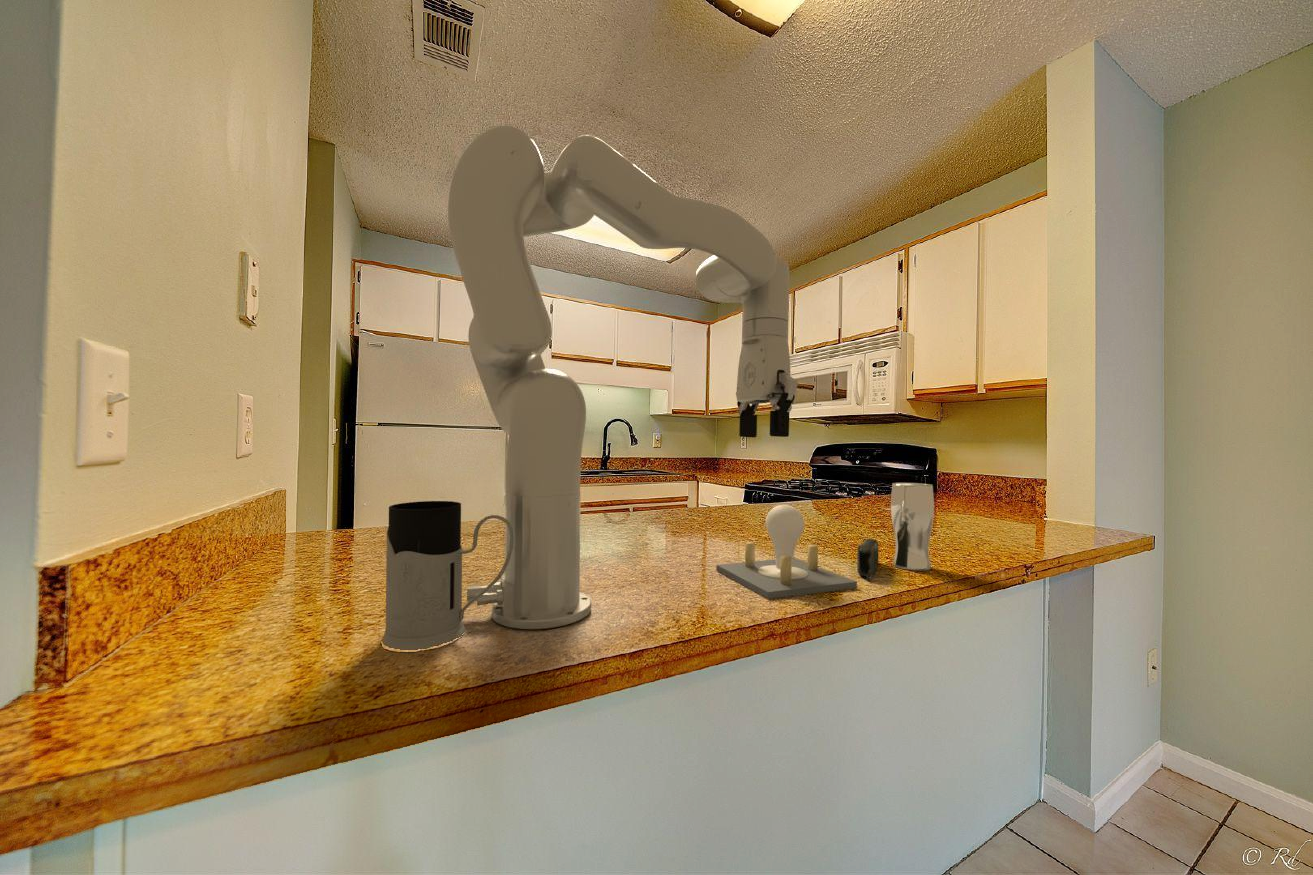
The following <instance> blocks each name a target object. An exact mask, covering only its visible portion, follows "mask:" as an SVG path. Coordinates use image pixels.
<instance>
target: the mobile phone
mask: <svg viewBox="0 0 1313 875" xmlns="http://www.w3.org/2000/svg"><path fill="white" fill-rule="evenodd" d="M856 564H857V573H858V575H860V576H863V577H866V580H867V581H868V582H871V581H872V576H873V574H874V573H875V572H876V571H877V570H878V566H879V542H878V541H877V540H876V539H873V538H864V539H863V542H862V543H860V544H859V545H858V546H857V563H856Z"/></svg>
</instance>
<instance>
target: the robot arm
mask: <svg viewBox="0 0 1313 875" xmlns="http://www.w3.org/2000/svg"><path fill="white" fill-rule="evenodd" d="M544 167H545V166H544V162H543V158H542V156H541V153H540V151H539V148H538V146H537V145H536V143H535V141H534V140H533V139H532V138H531V137H530V135H528V133H526V132H525V131H524V130H522V129H520V128H518V127H517V126H512V125H498V126H494V127H492V128H489V129H487V130H485V131H484V132H482V133H481V134H480V135H478V136H477V137H476V138H474V139H473V141H471V142H470V143H469V145H468V146H467V148H466V149H465V150H464V151H463V153H462V154H461V156H460V158H459V160H458V161H457V164H456V167H455V169H454V172H453V173H452V178H451V182H450V187H449V188H450V189H449V192H448V200H447V201H448V202H447V220H448V228H449V229H448V230H449V236H450V241H451V245H452V249H453V252H454V255H455V260H456V262H457V265H458V268H459V271H460V276H461V277H462V280H463V285H464V287H465V291H466V294H467V296H468V299H469V302H470V305H471V308H472V313H473V317H472V319H471V321H470V324H469V327H468V334H467V335H468V336H467V337H468V338H467V339H468V345H469V349H470V353H471V357H472V360H473V363H474V365H475V368H476V371H477V374H478V376H479V379H480V381H481V384H482V386H483V389H484V392H485V394H486V398H487V401H488V403H489V405H490V408H491V411H492V414H493V415H494V417H495V420H496V422H497V424H498V426H499V427H500V429H501V430H502V431H503V432H504V433H505V435H507V436H508V438H507V439H508V440H507V451H506V460H505V486H504V487H505V519H506V520H508V521H509V522H510V524H511V526H512V528H513V535H514V539H513V550H512V554H511V558H510V561H509V563H508V565H507V567H506V569H505V571H504V574H503V575H502V576H501V578H500V579H501V580H500V581H499V580H498V581H497V582H496V583H495V584H494V585H493V586H492V587H491V588H490V589H489V590H487V591H486V592H485V593H484V594H483V595H482V596H481V597H479V598H478V599H477V600H476V601H475V602H476V606H482V605H489V604H493V605H492V607H491V618H492V619H493V621H494V622H496V623H497V624H499V625H501V626H504V627H506V628H511V629H517V630H518V629H520V630H544V629H546V630H547V629H552V628H553V629H554V628H558V627H563V626H568V625H571V624H573V623H576V622H578V621H581V620H583V619H584V618H586V617H587V616H588V615H589V614H590V613H591V611H592V599H591V598H590V597H589V595H586V594H585V593H583V592H580V588H581V587H580V586H581V584H580V583H581V581H580V580H581V579H580V578H581V577H580V575H581V573H580V572H581V562H580V561H581V467H582V450H583V442H584V438H585V437H584V436H585V429H586V422H587V406H586V401H585V397H584V393H583V392H582V389H581V388H580V386H579V385H578V383H577V382H576V381H575V380H574V379H573V378H572V377H570V375H567V374H566V373H564V372H562V371H560V370H557V369H550V368H546V366H545V363H544V360H543V357H542V354H543V353H544V352H545V350H547V349H548V347H549V345H550V342H551V340H552V334H553V330H552V328H553V326H552V323H551V318H550V316H549V313H548V310H547V307H546V305H545V303H544V299H543V297H542V294H541V291H540V288H539V285H538V282H537V279H536V277H535V274H534V273H535V272H534V270H533V268H532V265H531V261H530V258H529V254H528V252H527V251H528V250H527V247H526V244H525V238H526V237H530V236H539V235H546V234H551V233H557V232H564V231H568V230H571V229H576V228H580V227H582V226H584V225H586V224H587V223H589V222H590V221H591V220H592V219H593V218H594V216H595V217H597V218H598V219H599V220H601V221H603V222H604V223H606V224H607V225H608V226H610V227H612V228H613V229H614V230H616V231H618V232H619V233H620V234H622V235H623V236H625V237H626V238H628V239H629V240H630V241H631V242H633V243H635V244H636V245H638V246H639V247H641V248H643V249H647V250H666V249H667V250H669V249H692V250H698V251H701V252H704V253H707V254H709V255H712V256H710V257H709V258H707V259H706V260H704V261H703V262H702V263H701V265H700V266H699V267H698V269H697V270H696V274H695V286H696V289H697V291H699V294H701V295H702V296H703V297H704V298H706V299H707V300H709V301H711V302H714V303H723V304H724V303H726V304H727V303H729V304H730V303H731V304H732V303H733V304H742V334H741V335H742V336H741V339H742V340H741V341H742V342H741V344H742V346H741V350H740V354H739V361H738V366H737V377H736V378H737V381H736V392H735V395H736V396H735V397H736V401H737V402H736V404H737V407H738V415H739V425H738V426H739V428H738V433H739V434H738V435H739V437H740V438H756V437H758V432H757V431H758V414H756V411H757V410H758V407H759V405H760V404H767V403H769V404H770V406H771V408H772V410H769V436H770V437H779V438H780V437H781V438H783V437H784V438H788V437H789V435H790V412H791V411H792V408H793V405H792V404H793V402H794V400H795V398H796V397H795V396H796V395H795V394H796V391H797V388H798V385H799V383H798V380H797V379H795V378H794V377H792V376H791V357H790V346H789V321H790V320H789V319H790V315H789V312H790V274H791V273H790V265H789V264H788V262H787V261H786V260H785V259H783V258H781V257H777V255H776V251H775V249H774V247H773V245H772V244H771V242H770V240H768V239H767V238H766V236H765V235H764V234H763V233H762V232H761V231H759V229H757V228H756V227H755V226H754V225H752V224H751V223H750V222H748V221H747V220H746V219H745V218H744V217H742V216H741V215H740V214H738V213H736V212H734V211H732V210H731V209H729V208H726V207H724V206H721V205H717V204H714V203H710V202H707V201H702V200H697V199H695V198H694V199H693V198H688V197H682V196H678V195H675V194H673V193H672V192H670V191H669V190H668V189H666V188H665V187H664V186H662V185H661V183H659V182H657V181H656V180H654V179H653V178H652V177H650V176H649V175H648V174H646V172H644V171H643V170H641V169H640V168H639V167H638V166H636V165H635V164H634V163H632V162H631V161H630V160H628V159H627V158H626V157H625V156H624V155H622V154H621V153H620V152H618V151H617V150H616V149H614V148H613V147H612V146H611V145H609V144H608V143H606V142H605V141H604V140H602V139H601V138H599V137H597V136H594V135H591V134H584V135H583V134H582V135H579V136H577V137H575V138H574V139H572V140H571V141H570V142H568V144H567V145H566V146H565V147H564V148H563V150H562V151H561V152H560V154H559V156H558V157H557V159H556V160H555V162H554V164H553V165H552V168H551V170H550V171H546V172H545V168H544ZM524 237H525V238H524ZM504 523H505V522H504ZM504 527H505V532H504V535H505V536H504V537H505V538H504V539H505V541H504V542H505V543H504V547H505V548H504V562H505V561H506V558H507V555H508V551H509V544H510V532H509V528H508V526H507V524H506V523H505V525H504ZM487 586H488V585H481V584H480V585H469V586H467V588H466V602H467V603H468V602H469V601H470V600H471V599H473V598H474V597H475V596H476V595H478V594H479V593H480V592H481V591H483V590H484V589H485V588H486V587H487Z"/></svg>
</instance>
